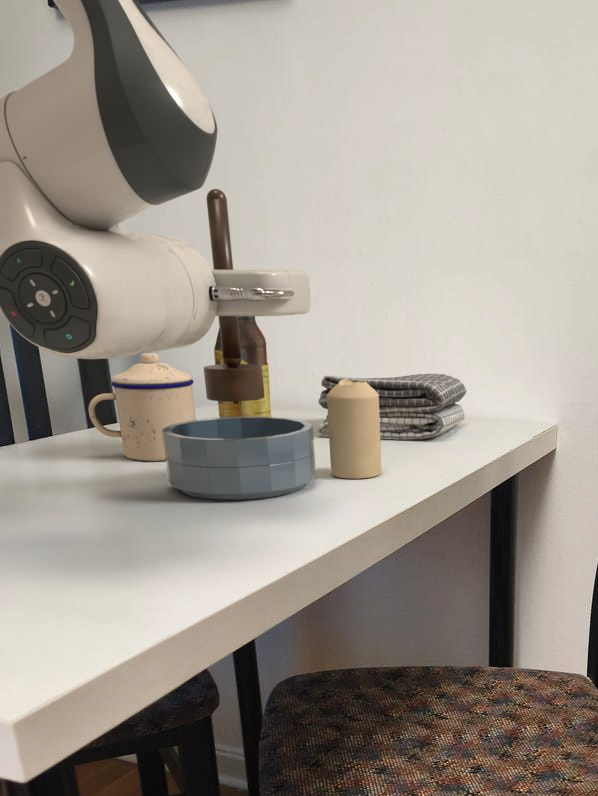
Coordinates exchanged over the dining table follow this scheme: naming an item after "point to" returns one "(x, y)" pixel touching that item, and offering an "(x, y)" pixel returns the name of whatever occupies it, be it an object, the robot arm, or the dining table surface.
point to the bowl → (239, 456)
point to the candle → (354, 430)
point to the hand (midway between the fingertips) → (229, 290)
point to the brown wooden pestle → (228, 321)
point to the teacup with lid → (147, 406)
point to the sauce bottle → (251, 354)
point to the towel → (409, 404)
